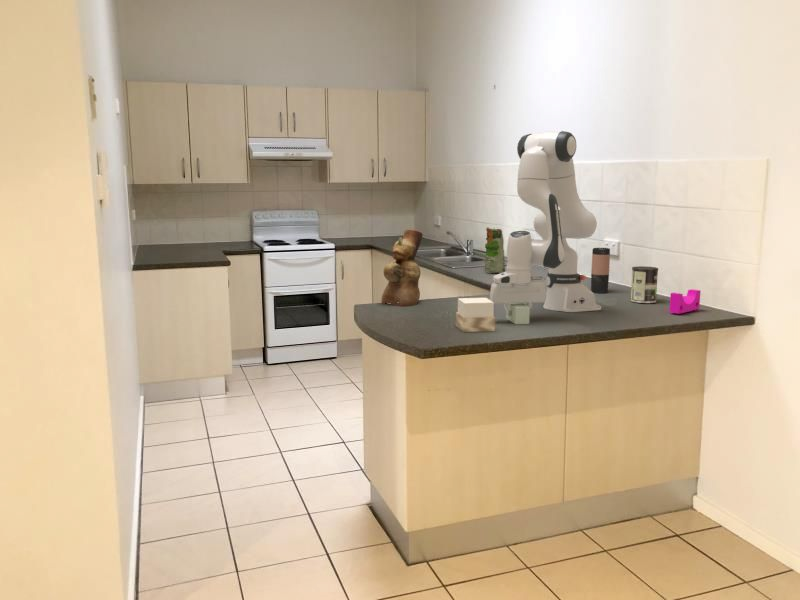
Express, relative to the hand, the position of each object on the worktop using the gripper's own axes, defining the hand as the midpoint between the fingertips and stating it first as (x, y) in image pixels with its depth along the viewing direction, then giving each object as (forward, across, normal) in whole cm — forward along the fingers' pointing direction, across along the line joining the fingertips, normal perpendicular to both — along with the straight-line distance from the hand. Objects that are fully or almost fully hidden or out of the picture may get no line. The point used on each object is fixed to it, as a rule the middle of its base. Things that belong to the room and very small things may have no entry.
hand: (517, 315), depth 251 cm
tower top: (-2, +18, +9) cm, 20 cm away
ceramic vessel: (+2, +34, -44) cm, 56 cm away
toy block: (+3, -70, -11) cm, 71 cm away
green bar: (+2, 0, 0) cm, 2 cm away
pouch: (+2, -28, -126) cm, 129 cm away
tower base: (+3, +18, +9) cm, 20 cm away
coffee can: (+2, -65, -32) cm, 72 cm away
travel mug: (+2, -56, -55) cm, 79 cm away
